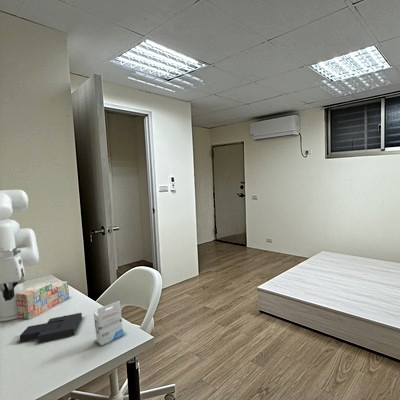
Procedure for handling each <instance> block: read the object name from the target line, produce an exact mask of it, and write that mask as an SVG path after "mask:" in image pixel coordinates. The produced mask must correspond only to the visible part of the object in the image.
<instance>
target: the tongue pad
mask: <svg viewBox="0 0 400 400" xmlns="http://www.w3.org/2000/svg"><path fill="white" fill-rule="evenodd" d="M62 322H63V321H59V322H54V323H47V322H45V323H40V324H33V325H29V326H27V327H26V328H25V329H24V331H22V333H20V335H19V341H20V343H24V342H28V341H34V340H38V335H39V334H40V332H41V331H45V330H49V329H54V328H59V327H60V325H61V323H62Z"/></svg>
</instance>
